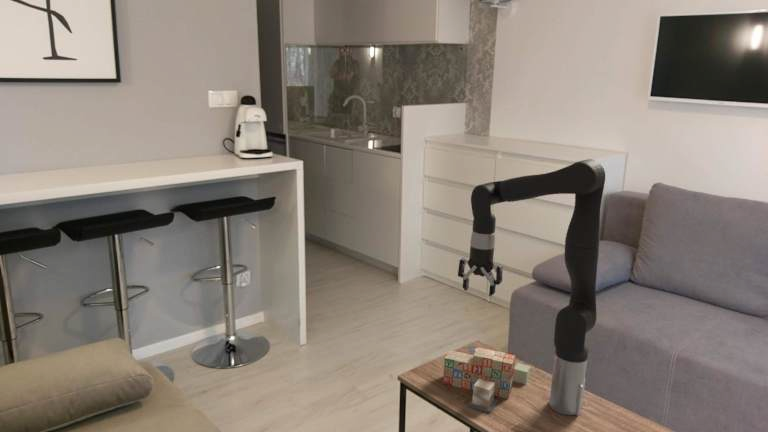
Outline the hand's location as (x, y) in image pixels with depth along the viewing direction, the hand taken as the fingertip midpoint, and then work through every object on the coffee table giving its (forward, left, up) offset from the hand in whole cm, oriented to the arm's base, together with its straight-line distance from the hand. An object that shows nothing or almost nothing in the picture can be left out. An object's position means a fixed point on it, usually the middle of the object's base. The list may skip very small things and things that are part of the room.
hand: (478, 292), depth 191 cm
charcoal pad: (-10, +18, -28) cm, 35 cm away
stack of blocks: (-5, +9, -28) cm, 30 cm away
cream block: (-10, +18, -27) cm, 34 cm away
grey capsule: (+1, -4, -28) cm, 28 cm away
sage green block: (-16, -3, -28) cm, 33 cm away
